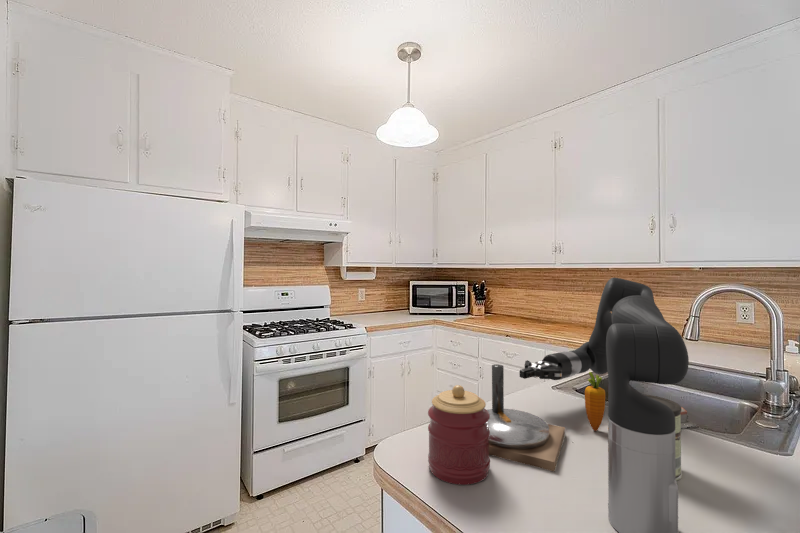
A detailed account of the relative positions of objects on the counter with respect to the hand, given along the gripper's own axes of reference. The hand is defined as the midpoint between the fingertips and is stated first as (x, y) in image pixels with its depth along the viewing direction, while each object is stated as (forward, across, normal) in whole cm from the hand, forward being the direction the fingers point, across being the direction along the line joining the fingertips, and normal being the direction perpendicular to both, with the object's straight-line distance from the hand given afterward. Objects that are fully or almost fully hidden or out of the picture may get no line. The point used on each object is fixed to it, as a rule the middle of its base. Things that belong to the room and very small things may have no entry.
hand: (521, 374), depth 103 cm
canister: (+31, +11, +12) cm, 35 cm away
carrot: (-11, +15, +13) cm, 22 cm away
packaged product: (-29, +20, +14) cm, 37 cm away
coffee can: (-4, +31, +13) cm, 34 cm away
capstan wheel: (+12, +7, +10) cm, 17 cm away
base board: (+12, +7, +12) cm, 19 cm away
